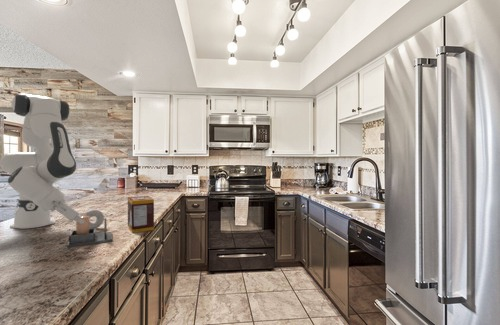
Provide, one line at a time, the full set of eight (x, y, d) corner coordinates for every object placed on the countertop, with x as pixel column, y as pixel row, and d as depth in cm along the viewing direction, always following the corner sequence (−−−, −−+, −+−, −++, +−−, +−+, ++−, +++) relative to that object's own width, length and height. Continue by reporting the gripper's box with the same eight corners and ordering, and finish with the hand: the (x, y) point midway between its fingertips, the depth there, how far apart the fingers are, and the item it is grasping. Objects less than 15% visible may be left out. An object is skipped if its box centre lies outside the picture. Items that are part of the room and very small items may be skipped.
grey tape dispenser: (70, 238, 116) (70, 220, 116) (111, 233, 124) (111, 217, 124) (67, 247, 105) (67, 227, 105) (112, 241, 113) (112, 223, 113)
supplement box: (147, 223, 144) (147, 195, 144) (154, 230, 131) (154, 199, 131) (127, 226, 139) (127, 196, 138) (131, 233, 126) (131, 200, 125)
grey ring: (81, 231, 128) (81, 211, 128) (80, 230, 131) (80, 210, 130) (104, 228, 134) (104, 208, 134) (103, 226, 137) (103, 207, 137)
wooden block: (76, 238, 114) (76, 216, 114) (89, 236, 116) (89, 215, 116) (75, 241, 110) (75, 218, 110) (89, 239, 112) (89, 217, 112)
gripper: (63, 196, 99) (92, 218, 106) (54, 191, 114) (80, 210, 121) (48, 210, 96) (79, 231, 103) (41, 203, 111) (69, 222, 118)
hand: (80, 220), depth 112 cm, fingers open, 8 cm apart
